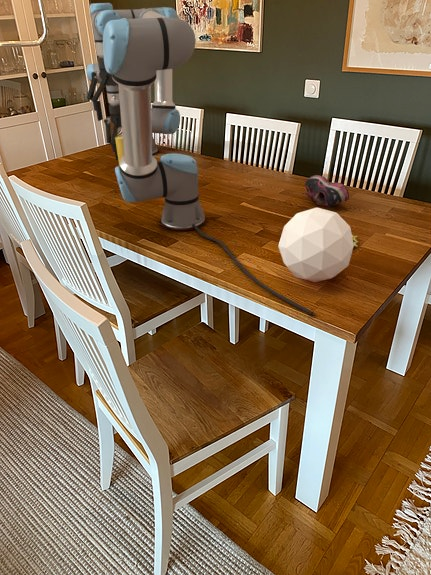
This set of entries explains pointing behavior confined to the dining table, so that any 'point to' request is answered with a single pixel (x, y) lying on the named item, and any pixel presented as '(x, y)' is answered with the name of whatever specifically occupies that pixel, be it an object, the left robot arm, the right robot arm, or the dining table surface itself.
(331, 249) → the sphere
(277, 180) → the dining table surface
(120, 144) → the can
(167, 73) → the left robot arm
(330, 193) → the athletic shoe
